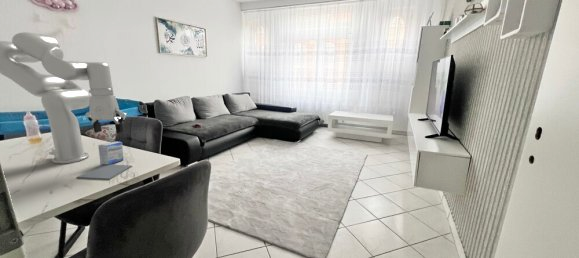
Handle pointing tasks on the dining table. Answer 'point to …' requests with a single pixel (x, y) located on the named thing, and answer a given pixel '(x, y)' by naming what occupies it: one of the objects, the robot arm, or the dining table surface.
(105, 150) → the medicine box
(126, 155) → the dining table surface
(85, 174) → the mat
